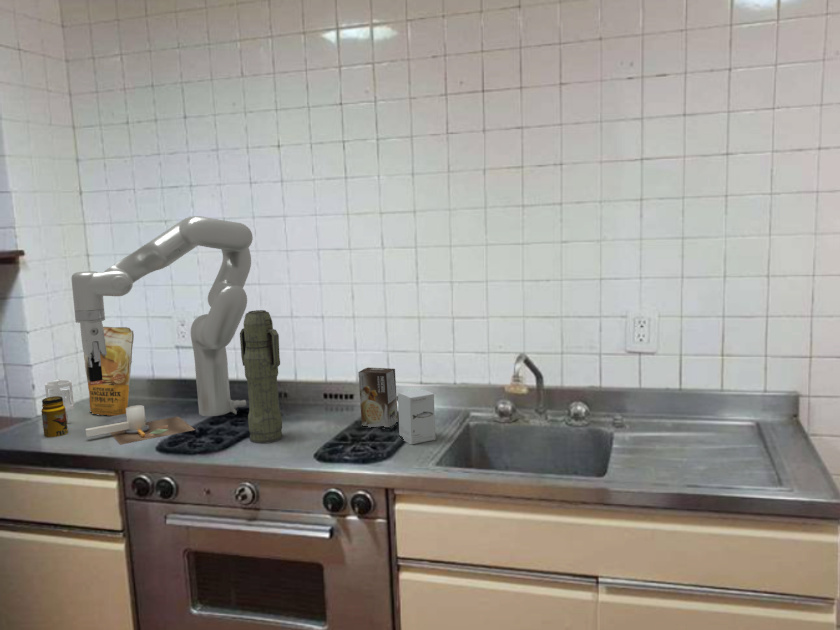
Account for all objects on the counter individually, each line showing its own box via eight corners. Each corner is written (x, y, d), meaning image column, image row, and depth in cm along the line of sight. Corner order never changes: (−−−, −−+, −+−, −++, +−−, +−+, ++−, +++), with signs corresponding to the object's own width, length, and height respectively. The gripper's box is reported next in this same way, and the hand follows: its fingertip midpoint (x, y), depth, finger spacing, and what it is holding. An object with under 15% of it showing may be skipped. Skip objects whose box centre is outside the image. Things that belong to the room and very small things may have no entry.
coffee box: (399, 423, 203) (396, 368, 201) (389, 429, 198) (387, 373, 195) (370, 420, 207) (367, 366, 205) (360, 427, 201) (357, 371, 199)
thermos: (277, 444, 188) (267, 313, 183) (238, 441, 192) (228, 313, 187) (293, 434, 196) (285, 309, 192) (256, 432, 200) (247, 309, 196)
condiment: (71, 439, 201) (67, 398, 199) (37, 446, 196) (32, 403, 194) (67, 433, 207) (63, 393, 205) (35, 439, 202) (30, 398, 200)
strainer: (48, 432, 209) (42, 382, 207) (52, 425, 216) (46, 377, 214) (74, 429, 211) (69, 379, 209) (77, 422, 218) (72, 375, 216)
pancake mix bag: (97, 409, 234) (88, 325, 230) (143, 412, 227) (134, 326, 223) (81, 414, 228) (71, 328, 224) (127, 418, 221) (118, 329, 217)
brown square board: (178, 421, 215) (178, 416, 215) (195, 434, 200) (195, 429, 200) (107, 434, 204) (107, 429, 204) (120, 449, 189) (119, 444, 189)
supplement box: (411, 445, 183) (409, 397, 181) (398, 438, 189) (396, 392, 188) (436, 440, 186) (434, 393, 184) (423, 433, 193) (421, 387, 191)
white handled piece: (146, 425, 205) (144, 403, 204) (155, 434, 196) (153, 411, 195) (85, 436, 196) (82, 413, 195) (92, 446, 187) (89, 422, 186)
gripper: (109, 317, 194) (115, 383, 196) (99, 312, 206) (105, 374, 208) (79, 319, 190) (85, 387, 192) (71, 314, 202) (77, 378, 204)
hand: (96, 380), depth 200 cm, fingers closed
